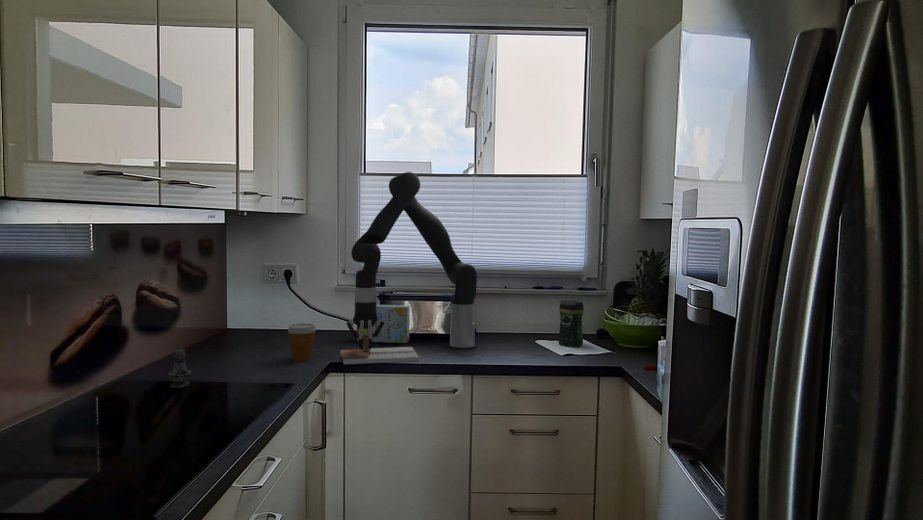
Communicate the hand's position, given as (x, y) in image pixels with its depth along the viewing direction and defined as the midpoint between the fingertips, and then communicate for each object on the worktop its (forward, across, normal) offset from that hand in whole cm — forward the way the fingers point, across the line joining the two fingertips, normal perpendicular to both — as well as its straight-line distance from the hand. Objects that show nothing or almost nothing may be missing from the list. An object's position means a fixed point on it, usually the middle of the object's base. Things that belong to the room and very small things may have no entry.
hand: (365, 348), depth 182 cm
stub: (+2, +3, 0) cm, 4 cm away
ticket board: (+4, -6, -3) cm, 8 cm away
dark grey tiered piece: (+4, +54, +18) cm, 58 cm away
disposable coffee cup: (+4, +22, -6) cm, 23 cm away
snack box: (+5, -10, -31) cm, 33 cm away
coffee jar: (+5, -84, -11) cm, 85 cm away
